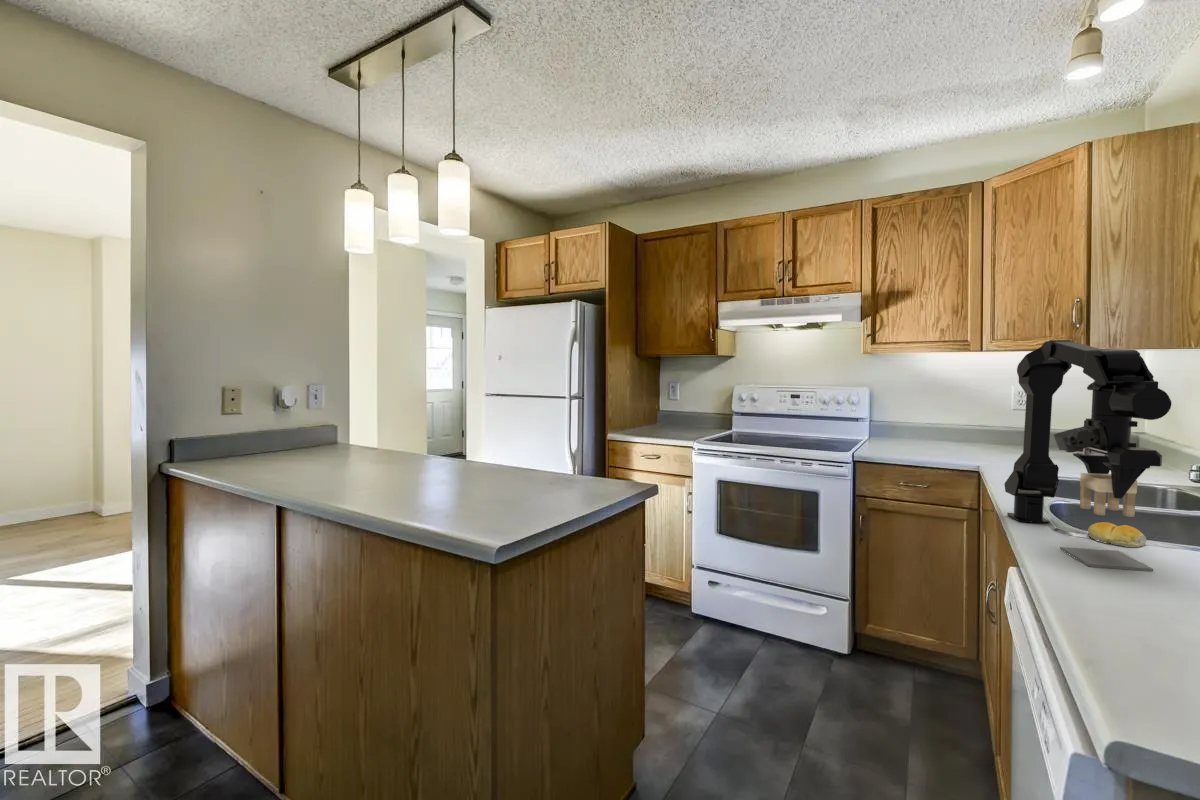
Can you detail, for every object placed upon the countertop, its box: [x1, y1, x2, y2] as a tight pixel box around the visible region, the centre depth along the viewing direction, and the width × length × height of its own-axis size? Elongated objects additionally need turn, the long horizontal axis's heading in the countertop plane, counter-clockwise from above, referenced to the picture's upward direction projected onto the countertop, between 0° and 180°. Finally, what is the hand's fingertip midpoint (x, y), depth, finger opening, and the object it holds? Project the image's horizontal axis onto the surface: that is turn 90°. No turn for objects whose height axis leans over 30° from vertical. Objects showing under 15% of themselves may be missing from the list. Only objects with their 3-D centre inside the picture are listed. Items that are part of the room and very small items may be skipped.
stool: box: [1079, 472, 1138, 518], centre depth 106 cm, size 6×6×7 cm
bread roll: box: [1087, 521, 1147, 548], centre depth 118 cm, size 8×9×4 cm
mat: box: [1059, 546, 1154, 572], centre depth 107 cm, size 10×10×1 cm
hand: (1107, 494), depth 106 cm, fingers closed on stool, 6 cm apart
